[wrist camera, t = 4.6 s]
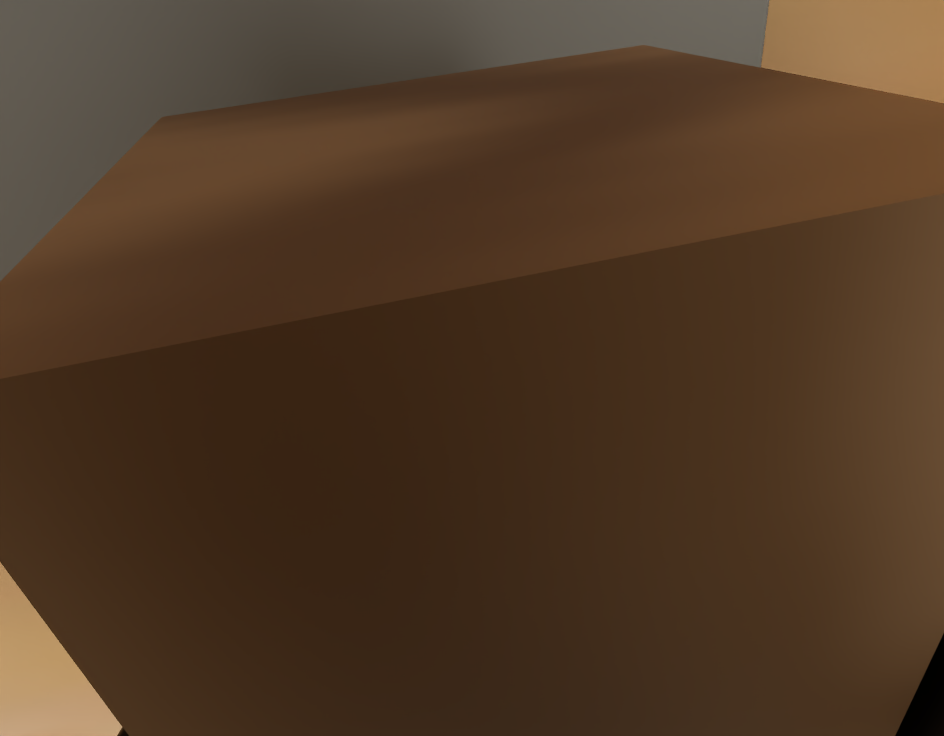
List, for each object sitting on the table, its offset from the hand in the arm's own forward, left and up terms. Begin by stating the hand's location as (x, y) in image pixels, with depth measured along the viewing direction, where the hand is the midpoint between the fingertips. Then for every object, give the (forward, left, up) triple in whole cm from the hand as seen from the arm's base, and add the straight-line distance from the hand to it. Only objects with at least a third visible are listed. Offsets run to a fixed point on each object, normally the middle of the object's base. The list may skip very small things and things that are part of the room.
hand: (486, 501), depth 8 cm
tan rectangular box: (0, 0, -1) cm, 1 cm away
